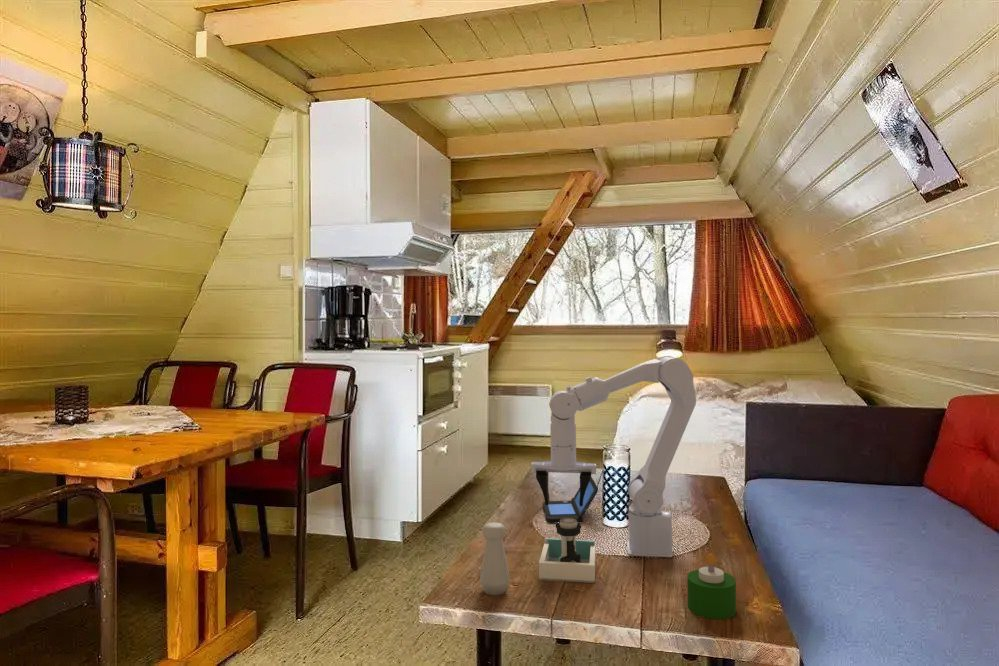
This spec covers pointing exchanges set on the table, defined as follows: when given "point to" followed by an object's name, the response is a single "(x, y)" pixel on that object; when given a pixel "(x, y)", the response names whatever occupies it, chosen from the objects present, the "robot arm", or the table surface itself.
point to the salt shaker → (494, 560)
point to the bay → (566, 568)
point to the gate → (581, 547)
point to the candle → (711, 592)
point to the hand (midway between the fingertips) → (564, 504)
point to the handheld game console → (571, 505)
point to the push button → (568, 539)
